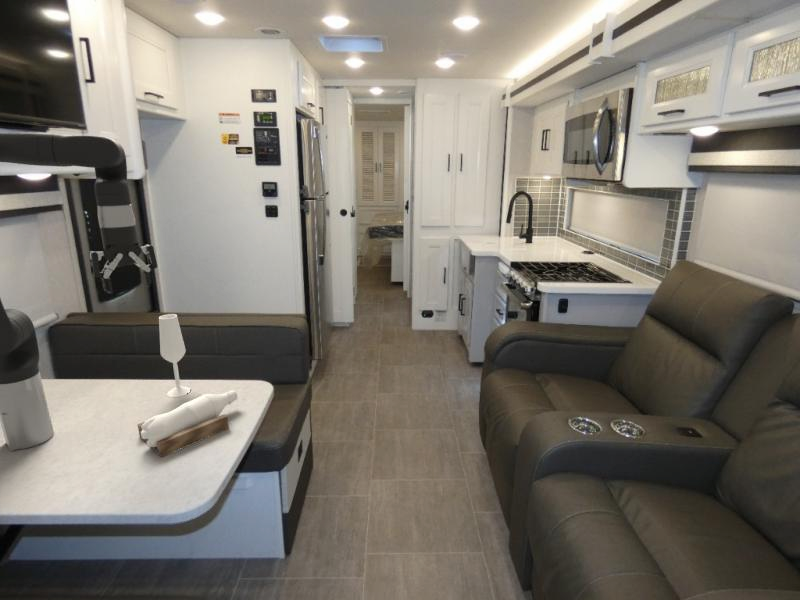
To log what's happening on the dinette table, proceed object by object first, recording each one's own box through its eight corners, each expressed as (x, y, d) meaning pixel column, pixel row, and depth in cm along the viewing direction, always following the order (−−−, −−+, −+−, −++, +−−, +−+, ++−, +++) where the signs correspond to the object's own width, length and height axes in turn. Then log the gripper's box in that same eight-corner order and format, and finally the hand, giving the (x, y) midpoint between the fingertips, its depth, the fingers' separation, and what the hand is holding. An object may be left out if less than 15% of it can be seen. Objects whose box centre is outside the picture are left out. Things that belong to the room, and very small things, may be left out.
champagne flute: (189, 385, 147) (179, 311, 140) (192, 393, 141) (181, 317, 134) (166, 390, 143) (154, 315, 137) (168, 399, 138) (155, 321, 131)
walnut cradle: (161, 457, 110) (159, 444, 109) (139, 436, 118) (137, 424, 117) (228, 428, 122) (227, 416, 121) (204, 411, 131) (203, 400, 130)
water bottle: (158, 446, 109) (246, 402, 129) (145, 418, 109) (234, 379, 129) (147, 453, 113) (233, 410, 133) (134, 426, 113) (222, 387, 134)
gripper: (143, 220, 120) (152, 282, 125) (78, 225, 110) (91, 292, 115) (154, 222, 116) (164, 286, 120) (88, 228, 105) (101, 297, 110)
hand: (128, 289), depth 117 cm, fingers open, 8 cm apart
